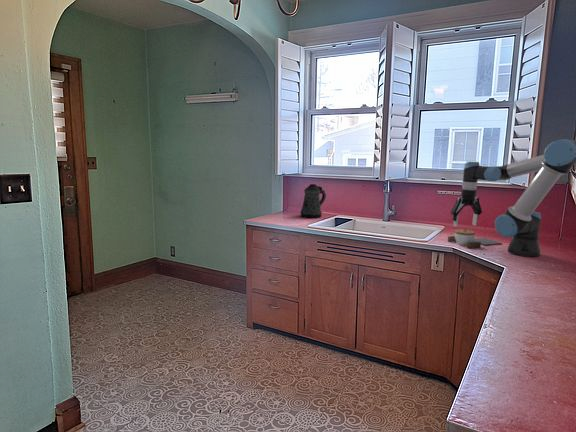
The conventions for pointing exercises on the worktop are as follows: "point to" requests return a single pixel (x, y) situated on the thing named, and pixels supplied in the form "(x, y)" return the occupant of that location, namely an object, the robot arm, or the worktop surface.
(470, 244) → the pot cradle
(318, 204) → the dark grey tall jug
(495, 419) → the worktop surface
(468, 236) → the lidded jar
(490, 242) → the rubber mat
